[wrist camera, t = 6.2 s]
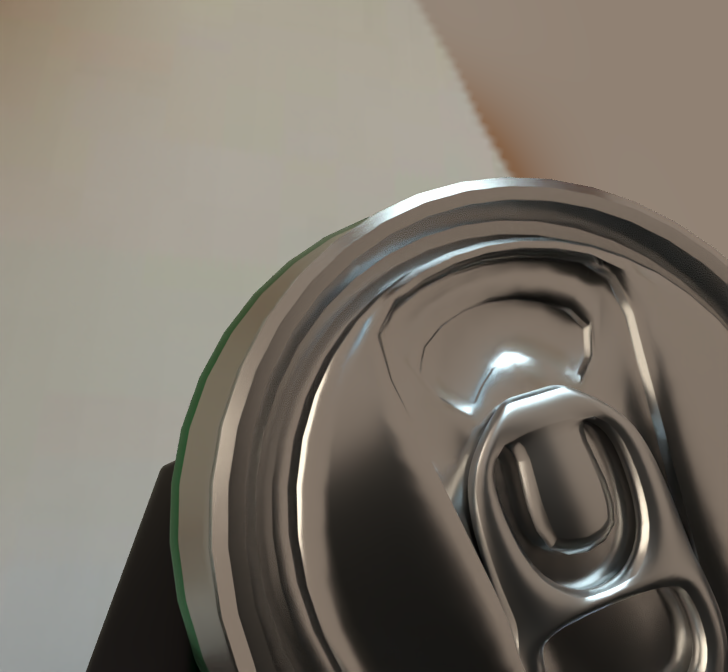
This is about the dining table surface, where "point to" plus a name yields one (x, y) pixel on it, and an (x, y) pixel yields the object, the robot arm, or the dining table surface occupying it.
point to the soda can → (466, 447)
